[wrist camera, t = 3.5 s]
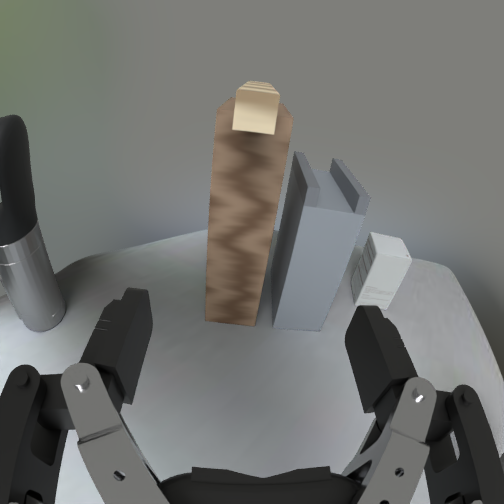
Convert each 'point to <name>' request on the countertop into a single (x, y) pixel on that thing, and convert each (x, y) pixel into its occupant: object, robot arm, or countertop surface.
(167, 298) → the countertop surface
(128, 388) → the robot arm
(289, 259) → the slate grooved rack
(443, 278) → the countertop surface
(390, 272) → the supplement box
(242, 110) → the birch bar
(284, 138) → the walnut pedestal
